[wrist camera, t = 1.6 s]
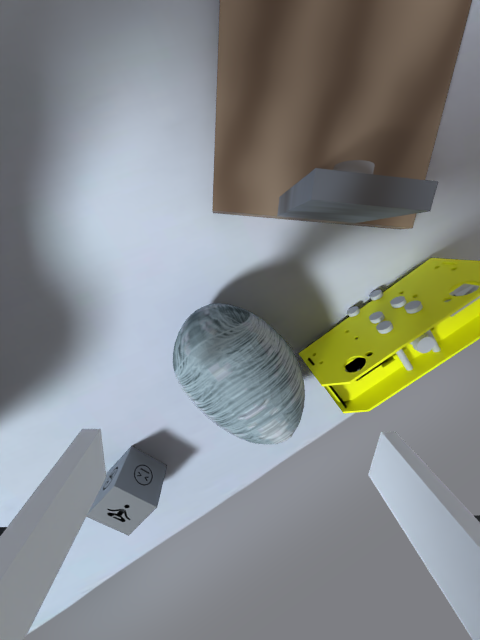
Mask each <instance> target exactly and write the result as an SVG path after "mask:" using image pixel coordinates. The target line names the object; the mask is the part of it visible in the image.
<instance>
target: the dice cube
mask: <svg viewBox="0 0 480 640" xmlns="http://www.w3.org/2000/svg"><path fill="white" fill-rule="evenodd" d="M166 468H167V465H165V464H163V463H162V462H160V461H158V460H156V459H154V458H153V457H151V456H149V455H147V454H146V453H144V452H142V451H140V450H138V449H137V448H135V447H133V446H131V447H130V448H129V449H128V450H127V451H126V453H125V454H124V455H123V456H122V457H121V458H120V459H119V460H118V461H117V462H116V464H115V465H114V466H113V467H112V468H111V469H110V470H109V471H108V472H107V474H106V478H105V480H104V482H103V484H102V486H101V488H100V490H99V492H98V494H97V496H96V498H95V500H94V502H93V504H92V506H91V508H90V510H89V512H88V514H87V516H86V517H88V518H91V519H93V520H95V521H97V522H99V523H102V524H104V525H106V526H108V527H111V528H113V529H115V530H117V531H120V532H122V533H124V534H126V535H128V536H129V535H130V534H131V533H132V532H133V531H134V530H135V529H136V528H137V527H138V526H139V525H140V524H141V523H142V522H143V521H144V520H145V519H146V518H147V517H148V516H149V515H150V514H151V513H152V512H153V511H154V510H155V509H156V508H157V506H158V501H159V497H160V493H161V489H162V484H163V480H164V476H165V472H166Z"/></svg>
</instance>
